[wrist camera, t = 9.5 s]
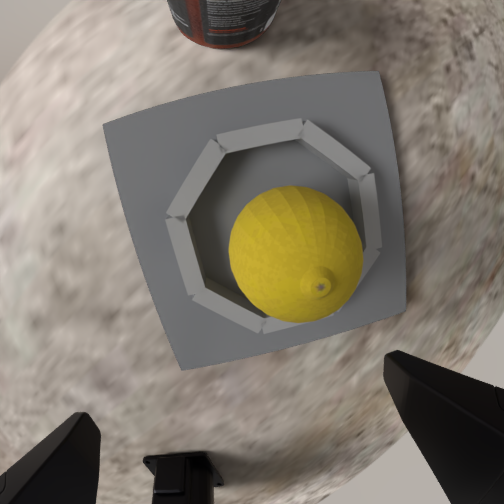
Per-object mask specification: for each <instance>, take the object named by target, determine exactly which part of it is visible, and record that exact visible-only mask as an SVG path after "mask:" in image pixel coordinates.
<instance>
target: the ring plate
mask: <svg viewBox="0 0 504 504" xmlns="http://www.w3.org/2000/svg"><path fill="white" fill-rule="evenodd" d="M103 129H104V134H105V139H106V143H107V148H108V152H109V156H110V161H111V165H112V169H113V173H114V177H115V181H116V185H117V188H118V192H119V196H120V200H121V203H122V207H123V210H124V214H125V217H126V221H127V224H128V227H129V231H130V234H131V237H132V240H133V244H134V247H135V250H136V253H137V256H138V259H139V262H140V265H141V268H142V271H143V274H144V277H145V280H146V282H147V285H148V288H149V291H150V294H151V296H152V299H153V302H154V304H155V307H156V310H157V312H158V315H159V318H160V320H161V323H162V325H163V328H164V330H165V333H166V335H167V338H168V340H169V343H170V345H171V347H172V350H173V352H174V354H175V357H176V359H177V361H178V364H179V366H180V368H181V371H183V370H189V369H194V368H200V367H205V366H210V365H215V364H220V363H225V362H230V361H234V360H239V359H243V358H248V357H252V356H257V355H261V354H265V353H269V352H273V351H277V350H281V349H285V348H289V347H293V346H297V345H300V344H304V343H308V342H311V341H315V340H318V339H322V338H325V337H329V336H332V335H335V334H339V333H342V332H345V331H349V330H352V329H355V328H358V327H361V326H364V325H367V324H370V323H373V322H376V321H379V320H382V319H385V318H388V317H391V316H394V315H397V314H399V313H402V312H405V311H406V256H405V236H404V221H403V209H402V199H401V189H400V181H399V173H398V166H397V159H396V152H395V146H394V140H393V134H392V129H391V123H390V118H389V113H388V109H387V104H386V99H385V95H384V91H383V86H382V82H381V78H380V74H379V71H360V72H341V73H328V74H316V75H307V76H298V77H290V78H282V79H275V80H269V81H263V82H257V83H251V84H245V85H240V86H235V87H230V88H225V89H221V90H216V91H212V92H207V93H203V94H199V95H195V96H191V97H187V98H183V99H179V100H176V101H172V102H169V103H165V104H162V105H158V106H155V107H152V108H149V109H145V110H142V111H139V112H136V113H133V114H130V115H127V116H124V117H121V118H119V119H116V120H113V121H110V122H108V123H105V124H103ZM289 185H292V186H302V187H308V188H311V189H314V190H316V191H319V192H321V193H324V194H326V195H327V196H328V197H330V198H331V199H332V200H334V201H335V202H337V203H338V204H339V205H340V206H341V207H342V208H343V209H344V210H345V212H346V213H347V214H348V216H349V217H350V218H351V220H352V221H353V223H354V224H355V227H356V229H357V232H358V234H359V237H360V239H361V242H362V250H363V268H362V274H361V277H360V280H359V282H358V285H357V287H356V289H355V291H354V292H353V294H352V295H351V297H350V298H349V300H348V301H347V302H346V303H345V304H344V305H343V306H342V307H341V308H340V309H339V310H337V311H336V312H334V313H332V314H331V315H329V316H327V317H325V318H322V319H319V320H317V321H313V322H305V323H293V322H284V321H282V320H279V319H276V318H274V317H271V316H269V315H267V314H265V313H264V312H263V311H261V310H260V309H258V308H257V307H256V306H254V305H253V304H252V303H251V302H250V301H249V299H248V298H247V297H246V296H245V294H244V293H243V292H242V290H241V289H240V288H239V286H238V284H237V281H236V279H235V277H234V274H233V272H232V270H231V265H230V258H229V242H230V235H231V231H232V228H233V226H234V223H235V221H236V219H237V217H238V215H239V214H240V213H241V211H242V210H243V209H244V207H245V206H246V205H247V204H248V203H249V202H250V201H251V200H253V199H254V198H255V197H257V196H258V195H259V194H261V193H264V192H266V191H268V190H270V189H273V188H277V187H283V186H289Z"/></svg>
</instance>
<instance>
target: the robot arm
mask: <svg viewBox="0 0 504 504" xmlns="http://www.w3.org/2000/svg"><path fill="white" fill-rule="evenodd" d="M383 377H384V381H385V384H386V386H387V388H388V390H389V392H390V395H391V397H392V399H393V401H394V403H395V406H396V408H397V410H398V412H399V414H400V417H401V419H402V421H403V423H404V424H405V426H406V428H407V429H408V431H409V433H410V434H411V436H412V438H413V439H414V441H415V443H416V444H417V446H418V448H419V449H420V451H421V453H422V454H423V456H424V458H425V459H426V461H427V463H428V464H429V466H430V468H431V469H432V471H433V473H434V475H435V476H436V478H437V480H438V482H439V483H440V485H441V487H442V489H443V490H444V492H445V494H446V496H447V497H448V499H449V501H450V503H451V504H504V389H502V388H499V387H497V386H496V387H494V386H493V385H491V384H488V383H485V382H482V381H479V380H476V379H474V378H471V377H468V376H465V375H463V374H460V373H457V372H455V371H452V370H449V369H447V368H444V367H441V366H439V365H436V364H433V363H431V362H428V361H426V360H423V359H420V358H418V357H415V356H413V355H410V354H407V353H405V352H402V351H400V350H395V351H393V352H390V353H387V354H386V355H385V357H384V372H383ZM100 443H101V433H100V430H99V428H98V427H97V425H96V424H95V423H94V421H93V420H92V418H91V417H90V415H89V414H88V413H86V412H76V413H74V414H73V415H71V416H70V417H69V418H68V419H67V420H66V421H64V422H63V423H62V424H61V425H60V426H59V427H57V428H56V429H55V430H54V431H53V432H52V433H50V434H49V435H48V436H47V437H46V438H44V439H43V440H42V441H41V442H40V443H39V444H37V445H36V446H35V447H34V448H33V449H32V450H30V451H29V452H28V453H27V454H26V455H24V456H23V457H22V458H21V459H20V460H19V461H17V462H16V463H15V464H14V465H13V466H11V467H10V468H9V469H8V470H7V472H4V473H3V474H2V475H1V476H0V504H96V497H97V489H98V481H99V467H100ZM143 463H144V464H145V465H146V467H147V468H148V469H149V470H150V471H151V472H152V474H153V475H154V476H155V477H154V486H153V497H152V504H214V487H219V486H223V485H224V481H223V479H222V477H221V476H220V474H219V473H218V471H217V470H216V468H215V466H214V465H213V463H212V462H211V460H210V458H209V457H208V455H207V454H206V453H204V452H198V453H189V454H179V455H166V456H149V457H144V458H143Z"/></svg>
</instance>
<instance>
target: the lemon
mask: <svg viewBox="0 0 504 504" xmlns="http://www.w3.org/2000/svg"><path fill="white" fill-rule="evenodd" d="M229 258H230V265H231V270H232V272H233V274H234V277H235V279H236V281H237V284H238V286H239V288H240V289H241V290H242V292H243V293H244V294H245V296H246V297H247V298H248V299H249V301H250V302H251V303H252V304H253V305H254V306H256V307H257V308H258V309H260V310H261V311H263V312H264V313H265V314H267V315H269V316H271V317H274V318H276V319H279V320H282V321H284V322H293V323H305V322H313V321H317V320H319V319H322V318H325V317H327V316H329V315H331V314H332V313H334V312H336V311H337V310H339V309H340V308H341V307H342V306H343V305H344V304H345V303H346V302H347V301H348V300H349V298H350V297H351V295H352V294H353V292H354V291H355V289H356V287H357V285H358V282H359V280H360V277H361V274H362V268H363V250H362V242H361V239H360V237H359V234H358V232H357V229H356V227H355V224H354V223H353V221H352V220H351V218H350V217H349V216H348V214H347V213H346V212H345V210H344V209H343V208H342V207H341V206H340V205H339V204H338V203H337V202H335V201H334V200H332V199H331V198H330V197H328V196H327V195H326V194H324V193H321V192H319V191H316V190H314V189H311V188H308V187H302V186H292V185H289V186H283V187H277V188H273V189H270V190H268V191H266V192H264V193H261V194H259V195H258V196H257V197H255V198H254V199H253V200H251V201H250V202H249V203H248V204H247V205H246V206H245V207H244V209H243V210H242V211H241V213H240V214H239V215H238V217H237V219H236V221H235V223H234V226H233V228H232V231H231V235H230V242H229Z"/></svg>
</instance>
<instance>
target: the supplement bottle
mask: <svg viewBox="0 0 504 504" xmlns="http://www.w3.org/2000/svg"><path fill="white" fill-rule="evenodd" d="M167 2H168V5H169V8H170V11H171V13H172V16H173V19H174V21H175V23H176V25H177V27H178V28H179V30H180V31H181V33H182V34H183V35H185V36H186V37H187V38H188V39H190V40H191V41H193V42H195V43H197V44H200V45H202V46H206V47H210V48H218V49H223V48H234V47H238V46H242V45H245V44H248V43H250V42H252V41H254V40H255V39H257V38H258V37H260V36H261V35H262V34H263V33H264V32H265V31H266V30H267V28H268V27H269V26H270V24H271V22H272V20H273V18H274V16H275V14H276V11H277V9H278V6H279V4H280V2H281V0H167Z"/></svg>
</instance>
